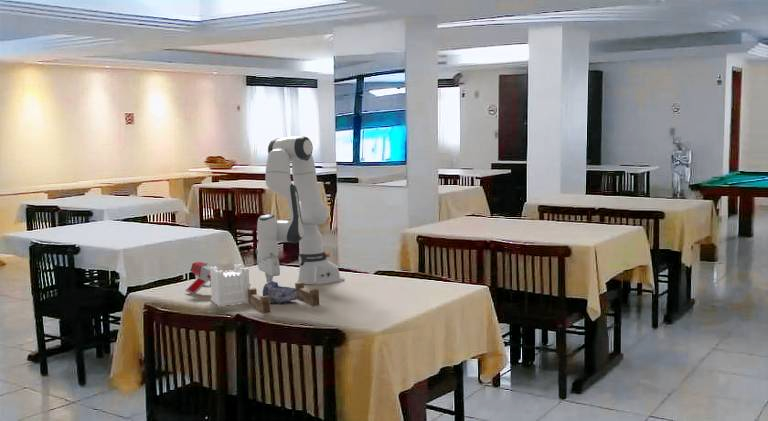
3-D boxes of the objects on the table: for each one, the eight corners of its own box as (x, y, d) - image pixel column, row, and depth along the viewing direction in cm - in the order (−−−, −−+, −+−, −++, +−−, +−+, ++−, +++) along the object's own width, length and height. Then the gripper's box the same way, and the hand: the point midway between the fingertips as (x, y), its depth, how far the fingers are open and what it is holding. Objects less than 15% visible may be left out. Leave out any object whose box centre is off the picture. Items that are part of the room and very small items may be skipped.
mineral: (259, 282, 332) (275, 276, 340) (259, 303, 334) (275, 297, 343) (285, 289, 324) (300, 283, 333) (285, 310, 327) (300, 304, 335)
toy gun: (235, 316, 349) (245, 285, 346) (182, 291, 355) (191, 261, 352) (242, 312, 356) (251, 282, 353) (190, 288, 362) (199, 259, 359)
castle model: (218, 307, 329) (216, 272, 327) (211, 300, 342) (209, 267, 340) (251, 302, 335) (249, 268, 333) (242, 296, 348) (240, 263, 346)
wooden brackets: (302, 296, 344) (302, 282, 343) (319, 304, 326) (319, 289, 325) (248, 303, 333) (247, 288, 332) (262, 313, 315) (262, 297, 315)
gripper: (282, 254, 335) (284, 286, 336) (267, 248, 353) (269, 278, 354) (268, 255, 332) (270, 287, 333) (254, 249, 350) (255, 280, 352)
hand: (269, 282), depth 344 cm, fingers closed
